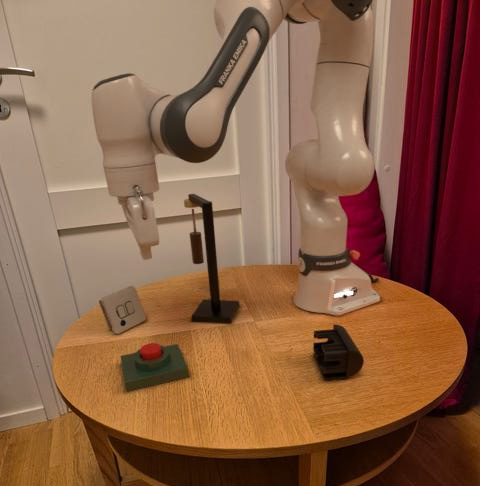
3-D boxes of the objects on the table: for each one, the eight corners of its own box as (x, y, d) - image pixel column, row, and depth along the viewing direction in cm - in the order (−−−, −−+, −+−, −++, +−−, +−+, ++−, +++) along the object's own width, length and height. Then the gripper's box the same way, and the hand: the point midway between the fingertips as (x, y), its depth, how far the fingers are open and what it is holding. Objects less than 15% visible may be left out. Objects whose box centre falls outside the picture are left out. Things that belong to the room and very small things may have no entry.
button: (160, 348, 83) (159, 341, 82) (163, 358, 80) (162, 350, 79) (140, 352, 82) (139, 345, 81) (142, 362, 79) (141, 355, 78)
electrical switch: (116, 336, 96) (106, 299, 93) (104, 332, 99) (93, 296, 96) (147, 320, 103) (139, 286, 99) (134, 317, 106) (126, 283, 102)
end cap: (362, 379, 76) (365, 348, 73) (324, 382, 76) (326, 351, 73) (346, 351, 85) (348, 322, 82) (312, 354, 85) (313, 325, 82)
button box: (178, 352, 88) (176, 336, 86) (188, 377, 80) (186, 360, 78) (122, 364, 85) (118, 348, 83) (126, 391, 77) (122, 374, 75)
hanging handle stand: (245, 295, 114) (239, 191, 101) (230, 323, 99) (222, 206, 86) (197, 293, 117) (186, 192, 104) (176, 320, 102) (160, 207, 89)
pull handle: (205, 260, 111) (200, 207, 104) (202, 264, 108) (196, 210, 102) (194, 260, 111) (189, 207, 105) (191, 264, 109) (185, 210, 102)
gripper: (160, 188, 64) (173, 271, 70) (143, 173, 81) (154, 241, 87) (119, 193, 62) (136, 278, 68) (110, 177, 79) (125, 245, 86)
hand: (146, 257), depth 78 cm, fingers closed
